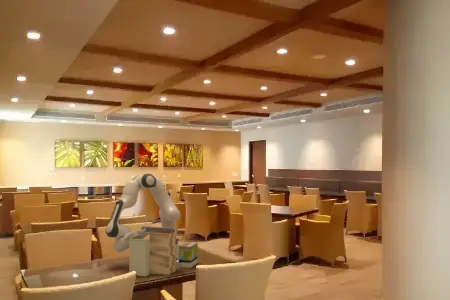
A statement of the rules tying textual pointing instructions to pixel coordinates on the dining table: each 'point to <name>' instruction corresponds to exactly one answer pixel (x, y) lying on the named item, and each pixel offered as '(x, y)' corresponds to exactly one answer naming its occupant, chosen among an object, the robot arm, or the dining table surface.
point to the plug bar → (157, 229)
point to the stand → (162, 252)
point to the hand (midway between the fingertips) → (148, 228)
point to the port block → (139, 256)
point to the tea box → (188, 255)
